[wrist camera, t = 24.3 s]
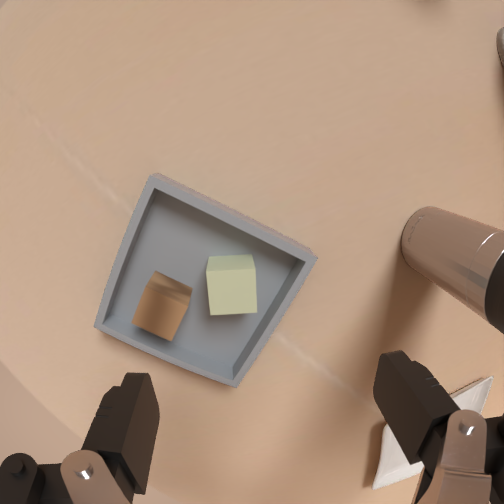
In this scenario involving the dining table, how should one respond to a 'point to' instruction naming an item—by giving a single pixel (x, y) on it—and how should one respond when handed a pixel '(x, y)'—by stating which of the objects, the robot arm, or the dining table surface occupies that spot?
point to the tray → (200, 279)
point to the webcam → (501, 44)
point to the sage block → (231, 284)
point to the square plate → (398, 467)
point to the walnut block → (162, 305)
